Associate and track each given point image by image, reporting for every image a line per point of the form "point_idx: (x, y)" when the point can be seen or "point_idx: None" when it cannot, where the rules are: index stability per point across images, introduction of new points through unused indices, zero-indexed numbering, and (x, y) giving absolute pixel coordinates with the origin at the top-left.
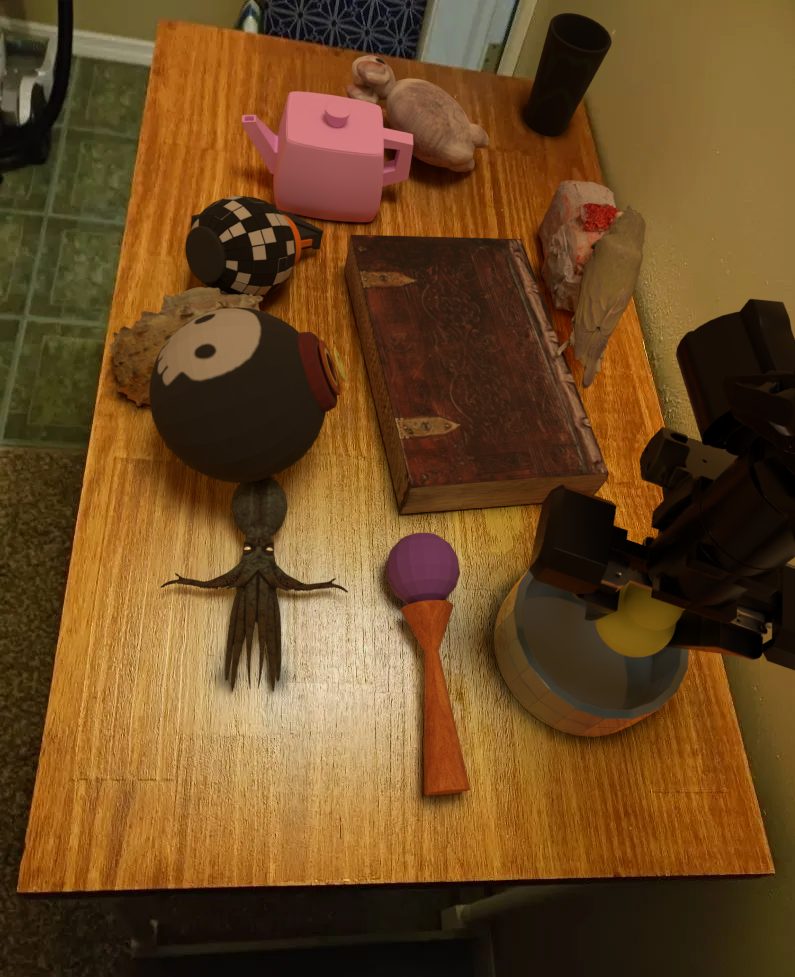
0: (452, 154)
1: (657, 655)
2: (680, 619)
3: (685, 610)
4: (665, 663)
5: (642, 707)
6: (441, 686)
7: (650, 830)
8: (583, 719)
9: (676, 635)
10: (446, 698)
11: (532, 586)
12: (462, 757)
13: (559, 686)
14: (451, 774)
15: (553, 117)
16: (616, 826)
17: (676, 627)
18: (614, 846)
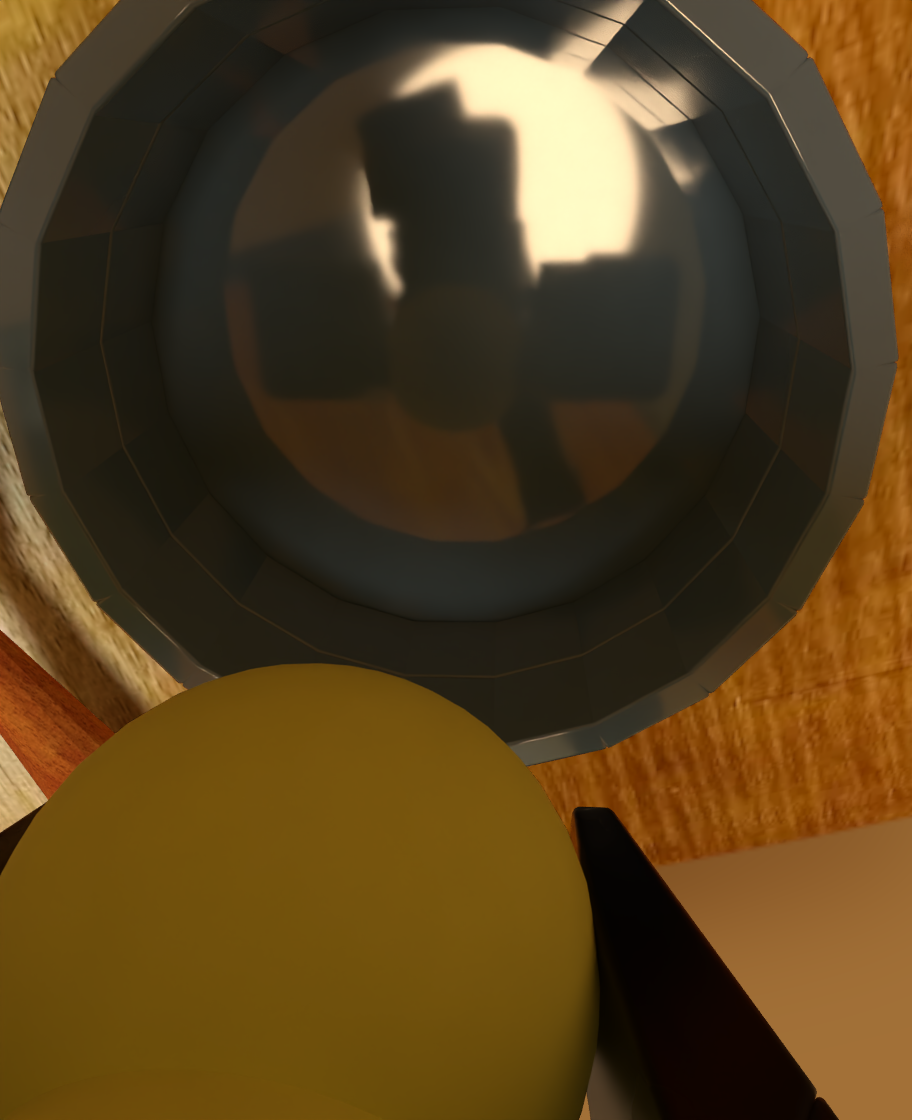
0: None
1: (771, 313)
2: (623, 1064)
3: (645, 1104)
4: (787, 396)
5: (642, 704)
6: (11, 719)
7: (731, 783)
8: None
9: (601, 1114)
10: (44, 741)
11: (204, 165)
12: None
13: (409, 526)
14: None
15: None
16: (636, 795)
17: (603, 1060)
18: (633, 831)
